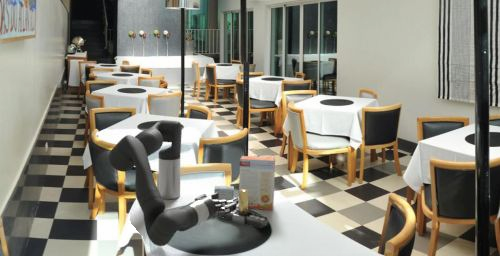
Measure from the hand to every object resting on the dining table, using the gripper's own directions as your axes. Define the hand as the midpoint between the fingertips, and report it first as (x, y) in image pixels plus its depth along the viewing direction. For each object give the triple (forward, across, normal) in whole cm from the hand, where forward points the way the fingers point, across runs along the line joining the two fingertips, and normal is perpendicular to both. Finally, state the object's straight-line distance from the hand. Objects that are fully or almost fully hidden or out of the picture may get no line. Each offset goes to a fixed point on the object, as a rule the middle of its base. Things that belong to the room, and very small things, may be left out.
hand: (227, 197), depth 160 cm
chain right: (+11, +6, -12) cm, 17 cm away
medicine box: (+18, -14, -13) cm, 26 cm away
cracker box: (+27, -4, -13) cm, 30 cm away
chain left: (+11, -6, -12) cm, 18 cm away
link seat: (+11, 0, -12) cm, 16 cm away
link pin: (+11, 0, -12) cm, 16 cm away
